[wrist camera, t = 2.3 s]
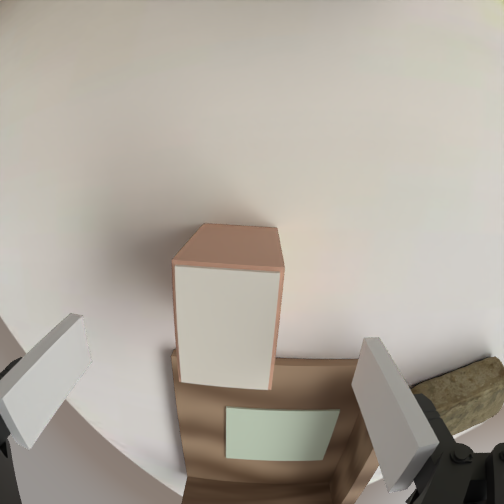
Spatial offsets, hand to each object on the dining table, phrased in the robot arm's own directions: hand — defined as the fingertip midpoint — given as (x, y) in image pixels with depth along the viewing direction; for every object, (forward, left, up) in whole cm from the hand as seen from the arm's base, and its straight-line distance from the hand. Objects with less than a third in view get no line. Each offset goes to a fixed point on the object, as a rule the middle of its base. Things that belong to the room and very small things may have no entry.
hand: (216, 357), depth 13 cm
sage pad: (+16, +5, -8) cm, 18 cm away
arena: (+17, +4, -10) cm, 20 cm away
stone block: (+11, +22, -10) cm, 27 cm away
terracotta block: (0, 0, -10) cm, 10 cm away
